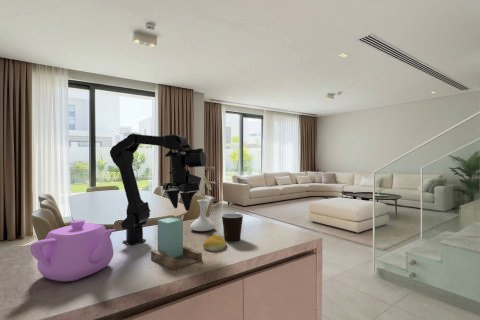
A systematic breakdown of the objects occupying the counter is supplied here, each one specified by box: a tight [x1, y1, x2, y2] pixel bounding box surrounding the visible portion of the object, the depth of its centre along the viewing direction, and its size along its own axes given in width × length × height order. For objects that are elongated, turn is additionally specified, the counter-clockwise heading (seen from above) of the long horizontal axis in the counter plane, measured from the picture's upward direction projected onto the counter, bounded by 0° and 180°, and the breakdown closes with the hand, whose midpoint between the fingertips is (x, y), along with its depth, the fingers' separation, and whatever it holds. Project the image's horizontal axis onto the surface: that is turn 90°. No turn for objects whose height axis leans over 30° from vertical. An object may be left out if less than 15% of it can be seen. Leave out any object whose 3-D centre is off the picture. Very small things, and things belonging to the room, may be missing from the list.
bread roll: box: [202, 234, 227, 252], centre depth 98 cm, size 8×9×4 cm
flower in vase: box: [190, 175, 216, 232], centre depth 122 cm, size 13×11×25 cm
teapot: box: [29, 219, 116, 282], centre depth 74 cm, size 23×21×15 cm
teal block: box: [157, 216, 184, 258], centre depth 88 cm, size 6×6×12 cm
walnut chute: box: [150, 245, 203, 271], centre depth 86 cm, size 14×10×2 cm
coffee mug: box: [221, 212, 244, 243], centre depth 108 cm, size 12×9×10 cm
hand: (181, 209), depth 98 cm, fingers open, 9 cm apart
